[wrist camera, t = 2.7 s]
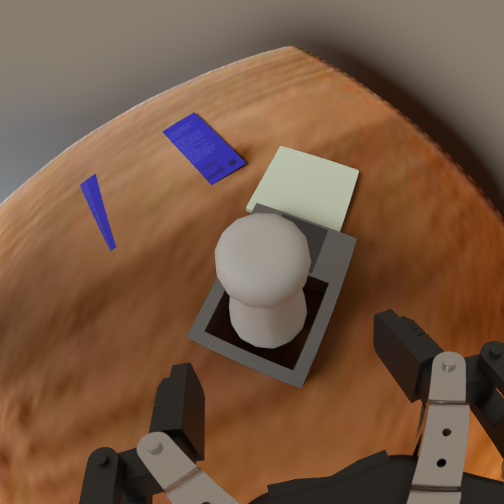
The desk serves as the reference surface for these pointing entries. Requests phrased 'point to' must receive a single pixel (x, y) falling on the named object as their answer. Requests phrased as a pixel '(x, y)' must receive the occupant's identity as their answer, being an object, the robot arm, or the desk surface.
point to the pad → (306, 187)
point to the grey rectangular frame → (319, 280)
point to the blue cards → (194, 149)
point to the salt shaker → (264, 278)
